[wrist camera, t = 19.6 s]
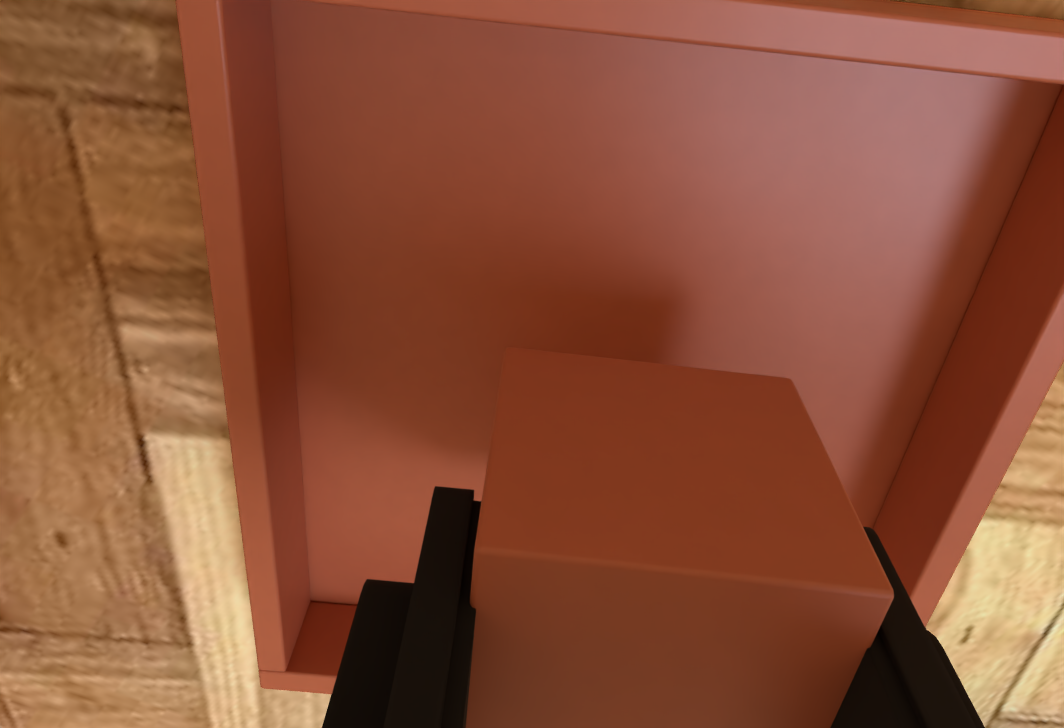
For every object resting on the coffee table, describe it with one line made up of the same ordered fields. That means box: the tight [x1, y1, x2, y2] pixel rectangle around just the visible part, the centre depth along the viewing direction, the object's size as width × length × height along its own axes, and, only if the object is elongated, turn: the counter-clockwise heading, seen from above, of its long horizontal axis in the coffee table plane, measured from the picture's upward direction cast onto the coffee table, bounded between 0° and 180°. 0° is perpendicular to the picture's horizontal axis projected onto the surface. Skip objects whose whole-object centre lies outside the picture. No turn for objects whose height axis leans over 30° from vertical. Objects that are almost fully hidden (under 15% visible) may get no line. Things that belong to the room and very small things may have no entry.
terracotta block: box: [466, 347, 894, 728], centre depth 11 cm, size 4×4×4 cm
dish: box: [176, 0, 1064, 694], centre depth 14 cm, size 14×13×2 cm
